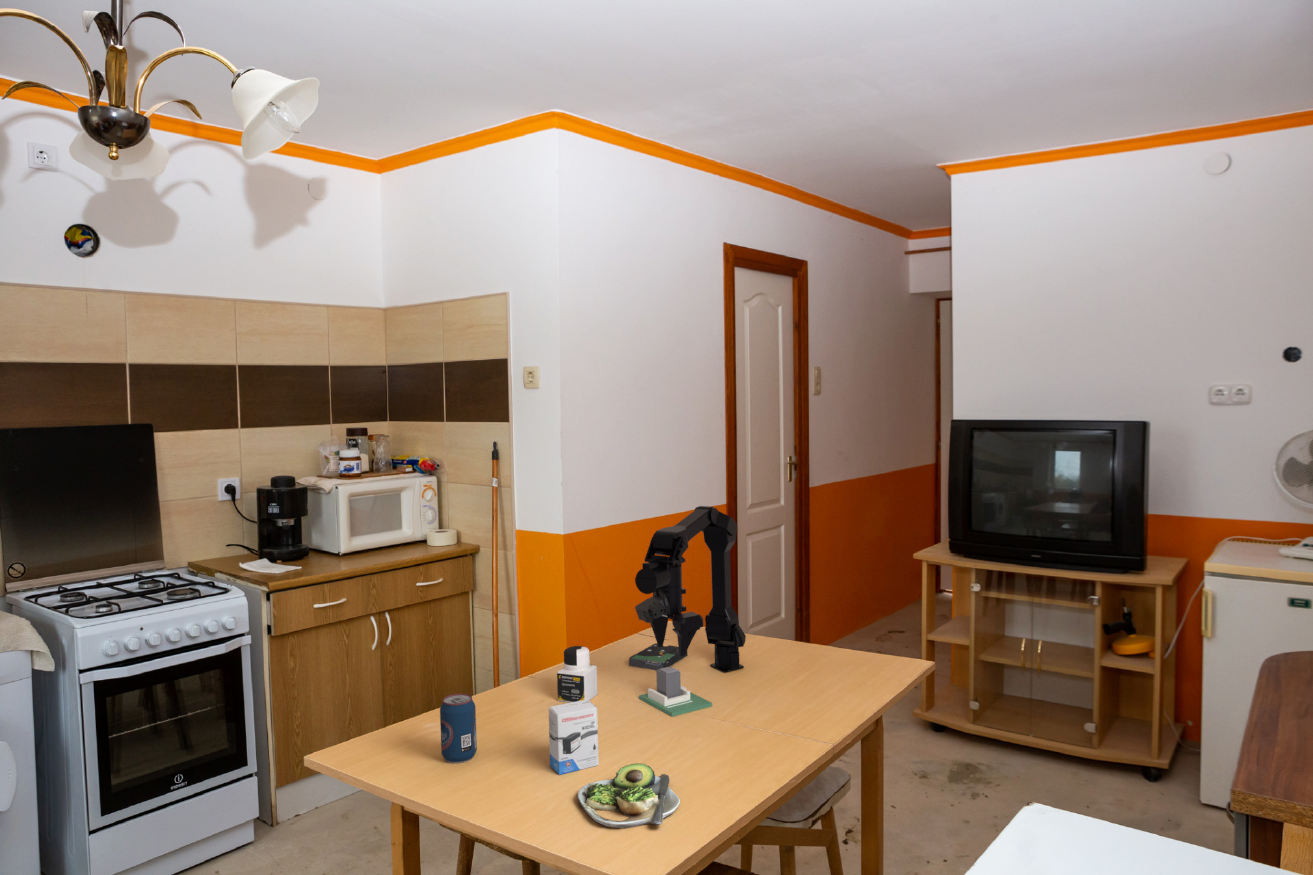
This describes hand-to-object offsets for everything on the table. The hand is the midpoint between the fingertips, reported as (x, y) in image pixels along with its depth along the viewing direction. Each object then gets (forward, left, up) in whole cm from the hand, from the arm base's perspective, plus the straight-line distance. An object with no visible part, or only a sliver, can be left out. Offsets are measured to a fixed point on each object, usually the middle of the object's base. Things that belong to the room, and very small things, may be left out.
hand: (671, 651), depth 204 cm
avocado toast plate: (+37, -34, -12) cm, 52 cm away
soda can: (+1, -52, -12) cm, 53 cm away
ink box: (+18, -35, -12) cm, 41 cm away
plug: (0, -1, -11) cm, 11 cm away
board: (+1, 0, -12) cm, 12 cm away
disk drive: (-27, +14, -13) cm, 33 cm away
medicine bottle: (-15, -17, -12) cm, 26 cm away
